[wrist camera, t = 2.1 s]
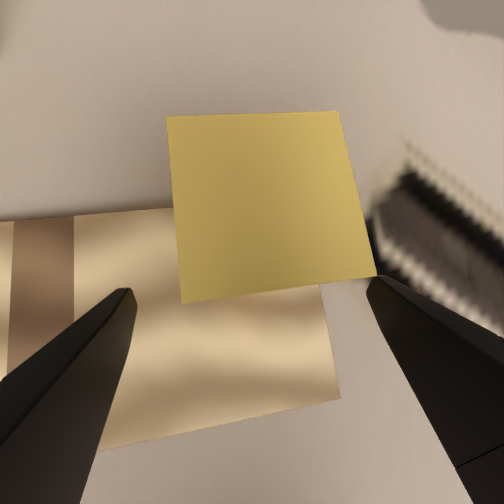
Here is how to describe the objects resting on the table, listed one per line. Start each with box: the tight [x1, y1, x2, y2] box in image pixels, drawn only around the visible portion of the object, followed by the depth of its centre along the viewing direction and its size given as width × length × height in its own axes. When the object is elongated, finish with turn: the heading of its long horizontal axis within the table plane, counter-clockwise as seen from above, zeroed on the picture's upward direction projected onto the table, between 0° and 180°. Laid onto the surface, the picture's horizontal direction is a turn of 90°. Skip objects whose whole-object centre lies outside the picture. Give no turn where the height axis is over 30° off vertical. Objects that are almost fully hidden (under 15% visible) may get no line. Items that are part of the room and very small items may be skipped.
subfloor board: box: [0, 207, 341, 452], centre depth 17 cm, size 16×26×1 cm, turn 98°
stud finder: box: [166, 111, 377, 304], centre depth 12 cm, size 5×5×12 cm
